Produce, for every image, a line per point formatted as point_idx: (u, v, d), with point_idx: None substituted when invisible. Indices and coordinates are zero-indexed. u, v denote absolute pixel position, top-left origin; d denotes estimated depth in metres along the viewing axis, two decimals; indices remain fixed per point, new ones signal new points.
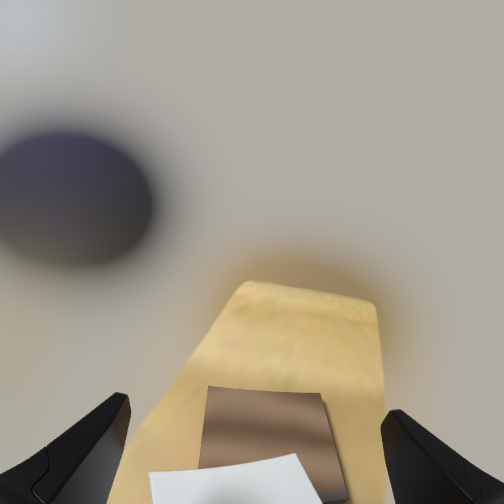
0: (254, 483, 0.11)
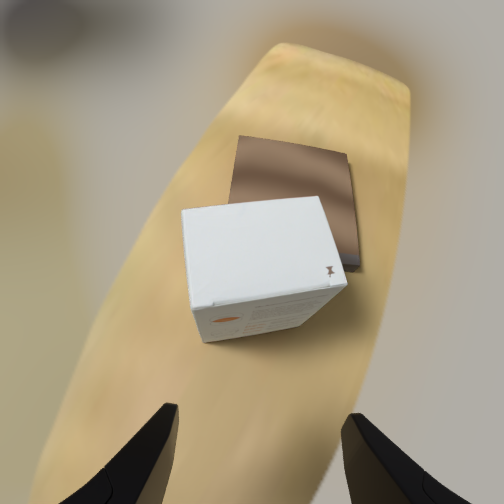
0: (278, 220, 0.16)
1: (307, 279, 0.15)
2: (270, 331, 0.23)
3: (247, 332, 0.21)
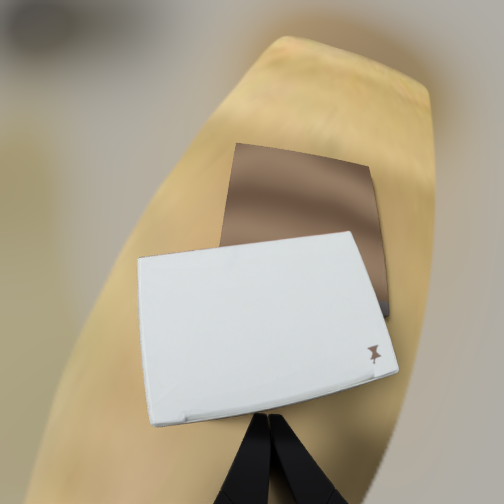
0: (292, 274, 0.10)
1: (340, 371, 0.08)
2: None
3: None
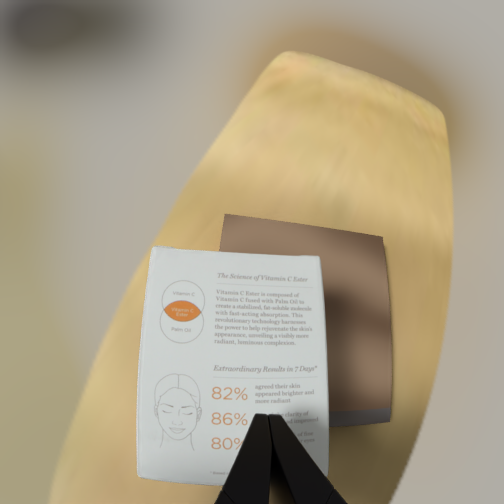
0: None
1: None
2: None
3: (220, 446, 0.10)
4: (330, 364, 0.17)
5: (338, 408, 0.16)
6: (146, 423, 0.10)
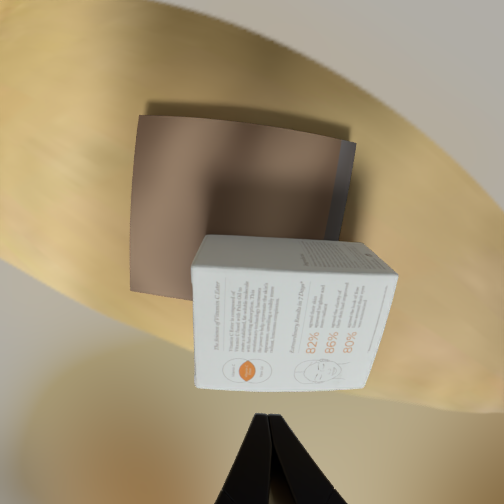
0: None
1: None
2: (381, 317, 0.15)
3: (350, 347, 0.15)
4: (283, 201, 0.18)
5: (329, 198, 0.18)
6: (327, 386, 0.16)
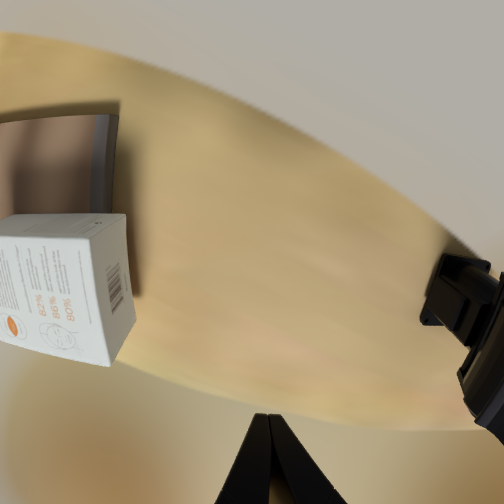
0: None
1: None
2: (86, 285, 0.14)
3: (71, 315, 0.14)
4: (55, 180, 0.17)
5: (89, 172, 0.17)
6: (72, 355, 0.15)
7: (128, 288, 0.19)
